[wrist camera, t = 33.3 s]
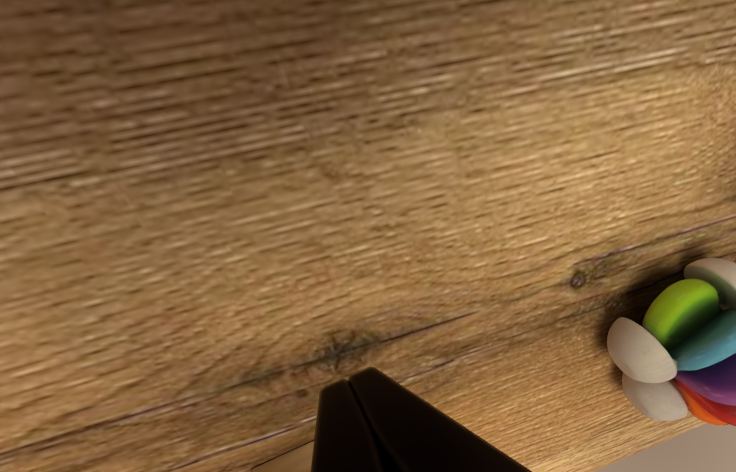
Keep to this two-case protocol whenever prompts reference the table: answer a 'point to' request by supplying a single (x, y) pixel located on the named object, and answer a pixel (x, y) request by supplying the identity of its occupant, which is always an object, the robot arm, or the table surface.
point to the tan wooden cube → (290, 461)
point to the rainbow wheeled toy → (683, 348)
